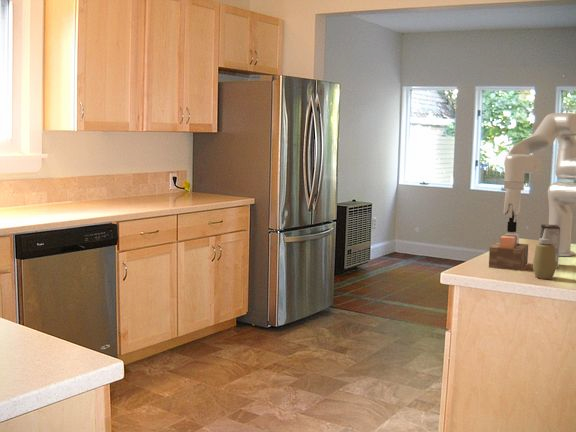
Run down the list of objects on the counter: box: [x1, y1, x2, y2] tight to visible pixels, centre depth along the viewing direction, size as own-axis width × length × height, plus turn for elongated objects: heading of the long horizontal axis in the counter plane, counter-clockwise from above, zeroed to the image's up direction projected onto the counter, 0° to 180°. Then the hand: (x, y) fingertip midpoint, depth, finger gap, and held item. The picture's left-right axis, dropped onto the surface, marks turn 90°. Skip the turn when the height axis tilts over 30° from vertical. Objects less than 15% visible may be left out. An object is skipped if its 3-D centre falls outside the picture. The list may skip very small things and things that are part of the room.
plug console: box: [488, 241, 529, 271], centre depth 286 cm, size 16×12×8 cm
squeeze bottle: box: [532, 229, 557, 280], centre depth 262 cm, size 8×8×18 cm
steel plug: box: [503, 232, 520, 246], centre depth 289 cm, size 5×5×6 cm
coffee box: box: [539, 223, 560, 269], centre depth 287 cm, size 9×6×16 cm
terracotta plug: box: [499, 235, 516, 249], centre depth 282 cm, size 5×5×6 cm
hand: (511, 231), depth 289 cm, fingers closed
